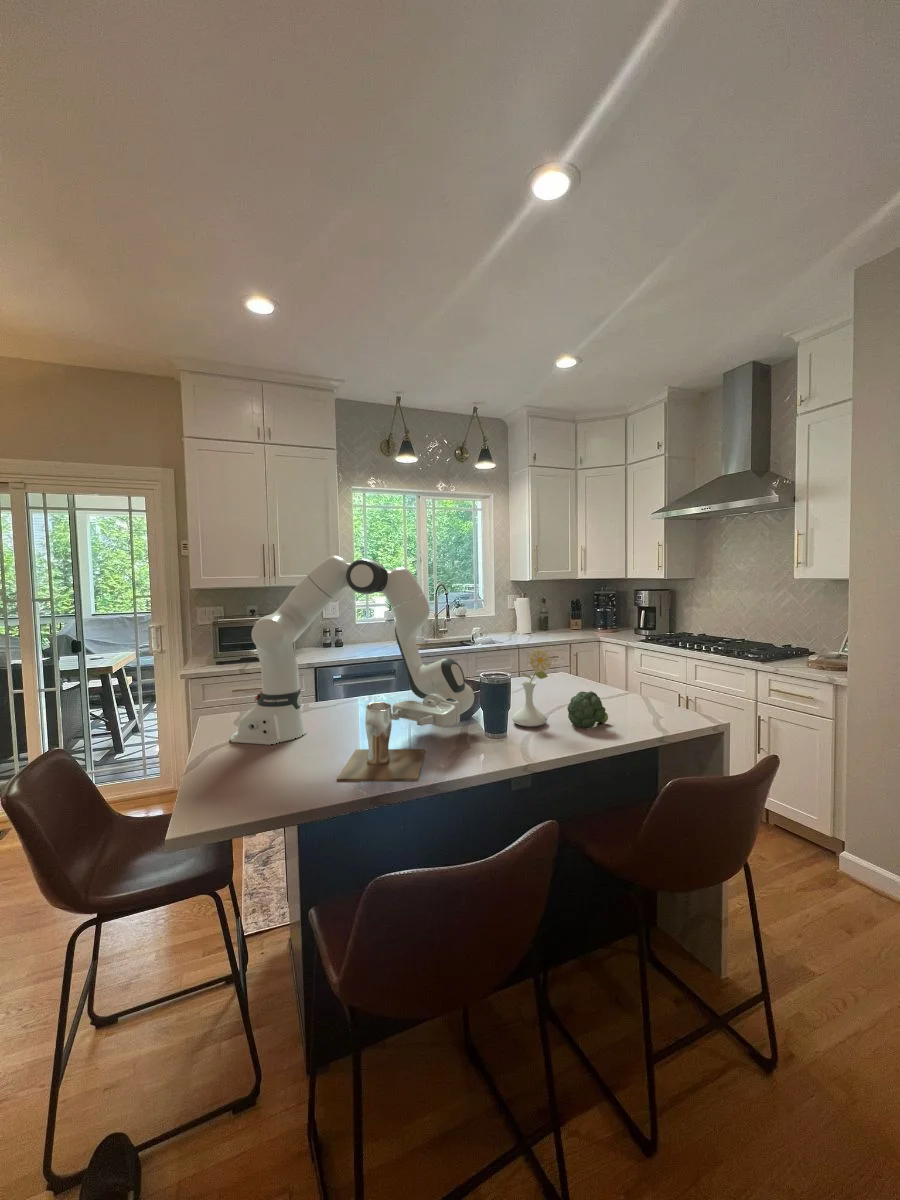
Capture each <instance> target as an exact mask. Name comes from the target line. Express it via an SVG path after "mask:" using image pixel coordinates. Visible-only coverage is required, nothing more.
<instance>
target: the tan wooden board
mask: <svg viewBox="0 0 900 1200" xmlns="http://www.w3.org/2000/svg"><path fill="white" fill-rule="evenodd" d="M368 750H369V748H368V749H367V748H366V749H362V748H361V749H354V751H353V752H352V754H351V756H350V757H349V759H348V761H347V762H346V764H345V765H344V767H343V768H342V770H341V771H340V773H339V774H338V776H337V778H336V782H406V781H405V780H418V781H419V779H420V774H421V771H420V770H421V769H422V767H421V766H423V763H424V759H423V758H425V755H426V748H392V749H391V748H388V750H389V756H390V760H389V761H388V762H387V763H385V764H382V765H374V764H370V763H369V762H368V761H367V756H368ZM424 754H425V755H424ZM422 762H423V763H422Z"/></svg>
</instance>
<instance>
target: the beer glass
mask: <svg viewBox="0 0 900 1200" xmlns="http://www.w3.org/2000/svg"><path fill="white" fill-rule="evenodd" d="M392 713H393V711H392V704H391V703H388V702H385V701H374V702H370V703H367V705H366V706H365V716H364V717H365V720H364V724H365V726H364V727H365V732H366V734H365V735H366V737H367V738H366V739H367V744H368V749H369V750H368V756H367V761H368V762H369V763H370V764H374V765H382V764H385V763H387V762H388V761H389V760H390V756H389V750H388V749H389V745H390V738H391V733H392V727H393V720H392Z"/></svg>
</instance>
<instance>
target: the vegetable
mask: <svg viewBox="0 0 900 1200" xmlns="http://www.w3.org/2000/svg"><path fill="white" fill-rule="evenodd" d="M566 710H567V712H568V717H567V718H568V719H569V721H570V723H571V724H572V726H573V725H575V726H574V727H580V728H583V729H584V728H587V729H591V728H592V727H594V726H595V725H596V723H597V722H601V723H600V724H605V723H607V721H608V720H609V716H608V715H609V714H608V713H607V712H606V711H607V709H606V707H604V706H603V703H602V700H601V698H600V697H599V696H598V694H597V693H595V692H594V691H591V690H590V691H583V690H582V691H579V692H577V694H576V695H575V696H573V697H571V699H570V702H569V704H568V705H567V709H566Z"/></svg>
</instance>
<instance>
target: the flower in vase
mask: <svg viewBox="0 0 900 1200" xmlns="http://www.w3.org/2000/svg"><path fill="white" fill-rule="evenodd" d="M528 664H529V665H530V666H531V668H532V669H533V670H534V674H533V675H532V676H530V675H528V674H525V673H523V672H521V674H522V676H524V677H525V678H527V679H530V680H525V681H521V683H520V684H521V685H522V686H523V689H524V693H525V703H524V705H523V706H522V707H521V708H520V709H519V710H517V711H516V712H515V713H514V714H513V715H512V717H511V720H512V722H513V723H514V724H517V725H519V726H523V727H538V726H542V725H544V724H546V722H547V721H548V718H547V716H546V715H545V714H544V713H543V712H542V711H540V710H539V709H538V708H537V707H536V706H535V704H534V702H533V695H534V688H535V686H536V685H537V683H538V682H536V681H533V679H534V678H535V676H536V677H537V678H538V679H540V680H542V679H546V678H548V677H549V676H548V674H547V673H545V672H546V671H548V670H549V669H551V665H552V659H551V657H550V655H549V654H548V652H547V651H546V650H543V649H542V648H541V649H539V648H536V649H534V650H533V651H531V652H529V657H528Z"/></svg>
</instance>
